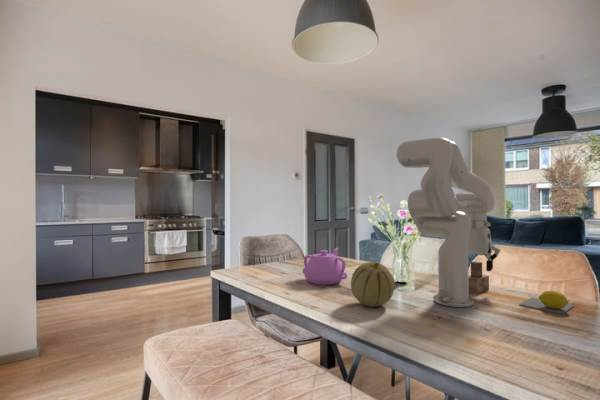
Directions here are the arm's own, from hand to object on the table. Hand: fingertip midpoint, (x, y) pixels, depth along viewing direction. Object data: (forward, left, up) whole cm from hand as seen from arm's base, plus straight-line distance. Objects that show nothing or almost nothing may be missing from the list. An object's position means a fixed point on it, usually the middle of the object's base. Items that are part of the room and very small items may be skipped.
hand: (476, 268), depth 136 cm
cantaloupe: (-46, +14, -9) cm, 49 cm away
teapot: (-33, +50, -9) cm, 60 cm away
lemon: (-6, -22, -5) cm, 24 cm away
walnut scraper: (0, 0, -8) cm, 9 cm away
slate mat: (-3, -24, -8) cm, 26 cm away
